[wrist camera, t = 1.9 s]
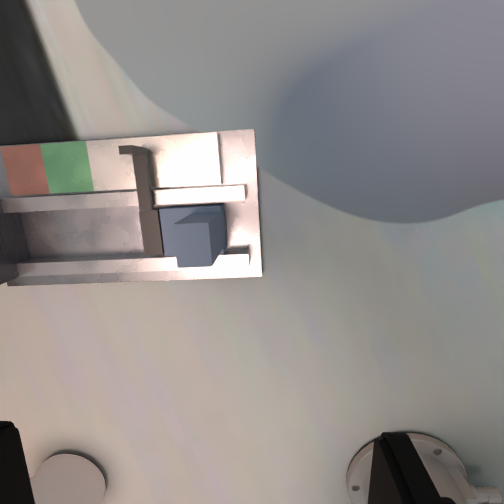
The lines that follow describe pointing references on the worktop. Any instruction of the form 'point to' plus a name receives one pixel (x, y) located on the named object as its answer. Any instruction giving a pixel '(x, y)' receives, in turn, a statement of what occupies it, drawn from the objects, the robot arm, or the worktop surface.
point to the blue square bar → (194, 233)
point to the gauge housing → (122, 207)
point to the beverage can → (67, 481)
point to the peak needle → (145, 201)
